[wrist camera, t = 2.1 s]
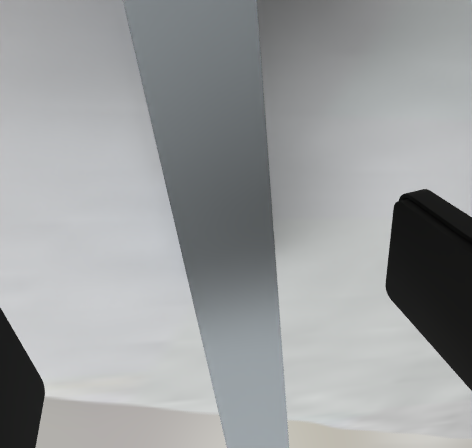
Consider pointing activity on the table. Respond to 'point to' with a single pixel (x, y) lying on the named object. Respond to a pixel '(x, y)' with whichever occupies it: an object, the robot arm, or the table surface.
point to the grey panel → (219, 196)
